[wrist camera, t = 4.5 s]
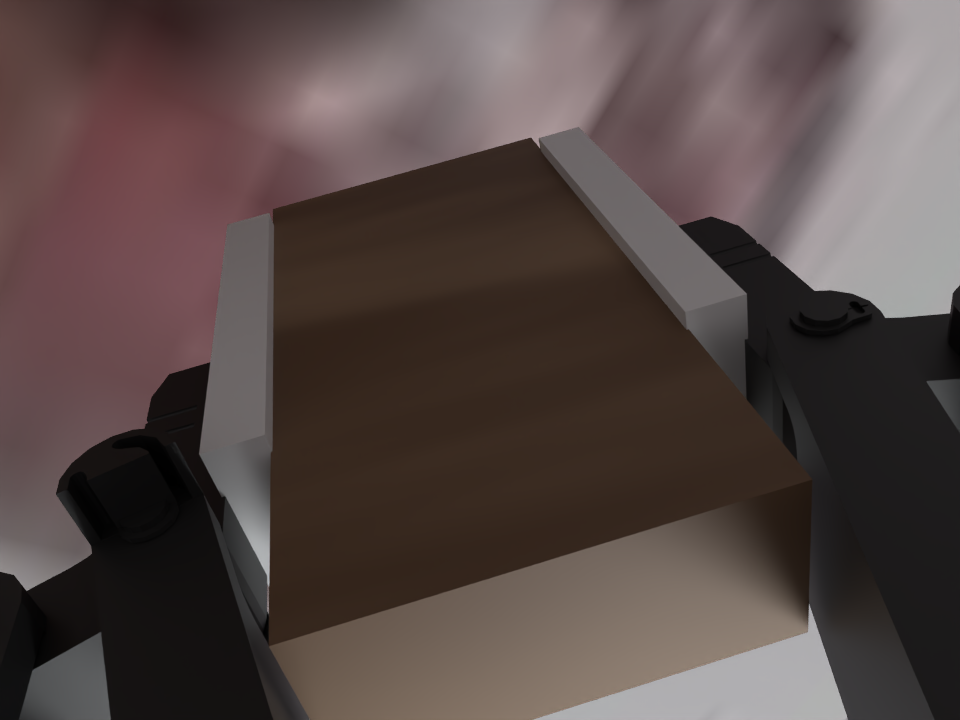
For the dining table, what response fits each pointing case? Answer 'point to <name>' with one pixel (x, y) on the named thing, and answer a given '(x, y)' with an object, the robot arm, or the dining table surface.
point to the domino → (505, 459)
